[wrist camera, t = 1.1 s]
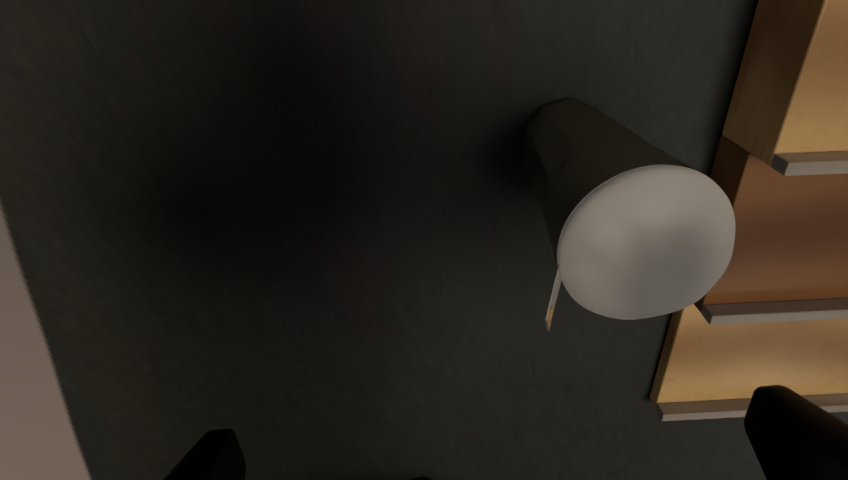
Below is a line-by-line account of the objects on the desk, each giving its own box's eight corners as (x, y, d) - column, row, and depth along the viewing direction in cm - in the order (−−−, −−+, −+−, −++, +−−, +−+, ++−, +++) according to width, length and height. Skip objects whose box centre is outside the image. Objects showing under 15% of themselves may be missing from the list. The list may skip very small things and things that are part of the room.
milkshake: (472, 104, 20) (531, 245, 11) (616, 65, 19) (791, 181, 11) (496, 208, 22) (558, 390, 14) (625, 175, 22) (774, 343, 13)
